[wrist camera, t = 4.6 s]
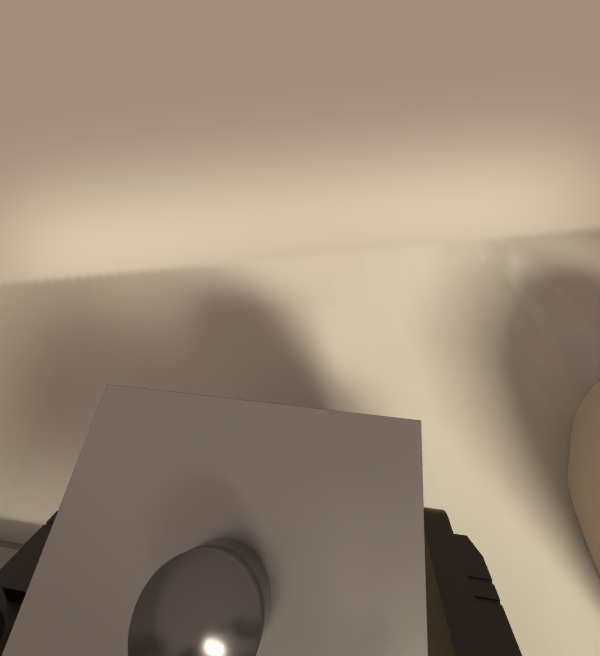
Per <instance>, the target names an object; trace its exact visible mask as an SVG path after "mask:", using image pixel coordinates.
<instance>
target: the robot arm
mask: <svg viewBox="0 0 600 656" xmlns="http://www.w3.org/2000/svg"><path fill="white" fill-rule="evenodd" d="M423 508H424V542H425V577H426V611H427V645H428V656H522V654H521V652H520V649H519V647H518V644H517V642H516V639H515V637H514V634H513V632H512V629H511V627H510V624H509V621H508V619H507V616H506V614H505V611H504V609H503V606H502V605H501V604H500V599H499V596H498V594H497V591H496V589H495V586H494V585H493V584H492V579H491V576H490V574H489V571H488V568H487V566H486V563H485V561H484V558H483V556H482V555H481V554H480V552H479V551H478V550H477V548H476V547H475V546H474V545H473V543H472V542H471V541H470V539H469V538H468V537H467V536H465V535H458V534H453V531H452V528H451V525H450V522H449V519H448V516H447V514H446V512H445V511H444V510H439V509H432V508H425V507H423ZM57 513H58V511H57V512H56V513H55V514H54V515H53V516H52V517H51V518H50V519H49V520H48V521H47V524H46V525H43V526H42V527H41V528H40V529H39V530H38V531H37V532H36V533H35V534H34V535H33V536H32V537H31V538H30V539H29V540H28V541H27V543H26V544H25V545H24V546H23V547H22V548H21V549H20V550H19V551H18V552H17V553H16V554H15V555H14V556H13V557H12V558H11V559H10V560H9V561H8V562H7V563H6V564H5V565H4V566H3V567H2V568H1V569H0V656H2V654H3V651H4V649H5V646H6V643H7V641H8V638H9V636H10V633H11V631H12V628H13V625H14V623H15V620H16V618H17V615H18V613H19V610H20V608H21V605H22V602H23V600H24V597H25V595H26V592H27V590H28V587H29V584H30V582H31V579H32V577H33V574H34V572H35V569H36V567H37V564H38V561H39V559H40V556H41V554H42V551H43V549H44V546H45V543H46V541H47V538H48V536H49V533H50V531H51V528H52V526H53V523H54V520H55V518H56V515H57Z"/></svg>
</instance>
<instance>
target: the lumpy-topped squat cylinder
mask: <svg viewBox="0 0 600 656" xmlns="http://www.w3.org/2000/svg"><path fill="white" fill-rule="evenodd" d="M567 480H568V489H569V493H570V497H571V501H572V504H573V507H574V511H575V514H576V517H577V520H578V522H579V525H580V528H581V531H582V534H583V536H584V539H585V542H586V544H587V547H588V549H589V552H590V554H591V557H592V559H593V562H594V564H595V567H596V569H597V572H598V574H599V576H600V380H599V381H598V382H597V383H595V384H594V386H593V387H592V388H591V389H590V390H589V391H588V393H587V394H586V396H585V397H584V398H583V400H582V402H581V403H580V405H579V407H578V409H577V411H576V414H575V417H574V421H573V425H572V430H571V437H570V444H569V454H568V472H567Z"/></svg>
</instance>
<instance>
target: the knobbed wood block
mask: <svg viewBox="0 0 600 656" xmlns="http://www.w3.org/2000/svg"><path fill="white" fill-rule="evenodd" d="M2 656H428V645H427V611H426V577H425V542H424V508H423V474H422V439H421V420H412V419H403V418H394V417H386V416H377V415H368V414H360V413H351V412H342V411H334V410H325V409H316V408H308V407H299V406H290V405H282V404H273V403H264V402H256V401H247V400H238V399H230V398H221V397H212V396H204V395H195V394H186V393H178V392H169V391H160V390H152V389H143V388H134V387H126V386H117V385H108V384H107V387H106V390H105V392H104V395H103V397H102V400H101V402H100V405H99V408H98V410H97V413H96V415H95V418H94V420H93V423H92V426H91V428H90V431H89V433H88V436H87V438H86V441H85V443H84V446H83V449H82V451H81V454H80V456H79V459H78V461H77V464H76V467H75V469H74V472H73V474H72V477H71V479H70V482H69V484H68V487H67V490H66V492H65V495H64V497H63V500H62V502H61V505H60V508H59V510H58V513H57V515H56V518H55V520H54V523H53V526H52V528H51V531H50V533H49V536H48V538H47V541H46V543H45V546H44V549H43V551H42V554H41V556H40V559H39V561H38V564H37V567H36V569H35V572H34V574H33V577H32V579H31V582H30V584H29V587H28V590H27V592H26V595H25V597H24V600H23V602H22V605H21V608H20V610H19V613H18V615H17V618H16V620H15V623H14V625H13V628H12V631H11V633H10V636H9V638H8V641H7V643H6V646H5V649H4V651H3V654H2Z"/></svg>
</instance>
